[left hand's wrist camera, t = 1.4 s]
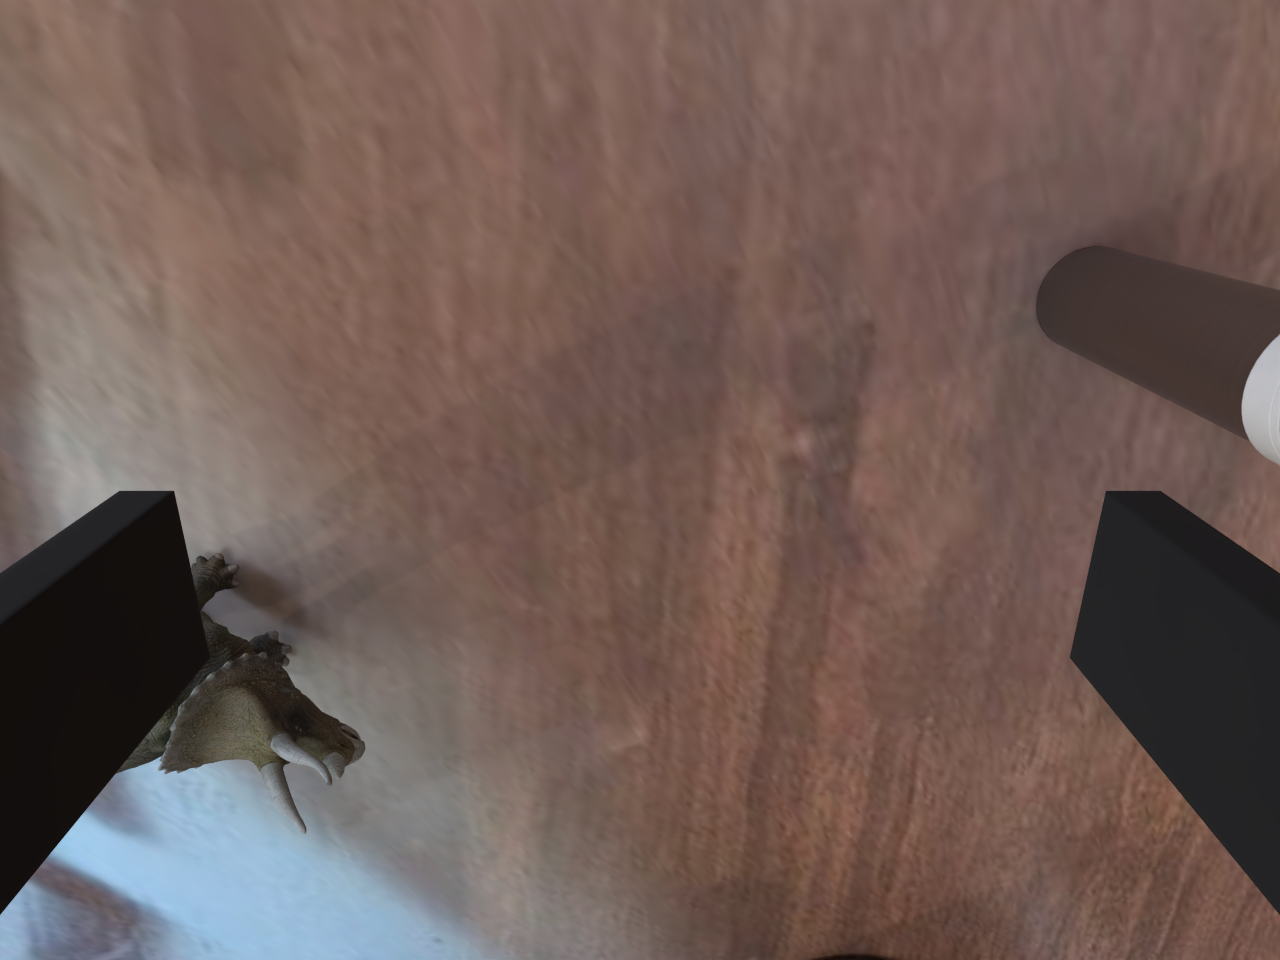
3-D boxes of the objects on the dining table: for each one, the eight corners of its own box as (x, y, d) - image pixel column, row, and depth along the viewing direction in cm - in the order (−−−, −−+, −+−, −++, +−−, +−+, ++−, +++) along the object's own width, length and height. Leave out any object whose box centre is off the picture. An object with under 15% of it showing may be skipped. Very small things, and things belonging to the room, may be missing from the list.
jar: (1050, 241, 38) (1311, 311, 23) (1152, 251, 38) (1475, 326, 23) (1024, 343, 40) (1251, 469, 25) (1121, 352, 40) (1404, 482, 25)
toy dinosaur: (19, 725, 47) (-157, 893, 37) (-51, 590, 44) (-264, 732, 34) (410, 671, 46) (343, 830, 36) (367, 528, 43) (279, 656, 32)
